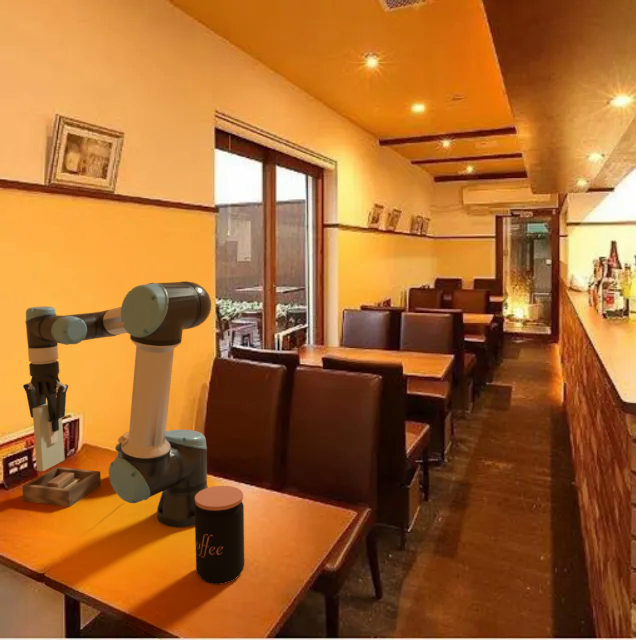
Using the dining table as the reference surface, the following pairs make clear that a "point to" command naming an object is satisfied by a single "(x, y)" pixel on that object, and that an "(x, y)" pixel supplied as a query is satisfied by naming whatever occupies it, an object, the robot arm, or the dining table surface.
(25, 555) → the dining table surface
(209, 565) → the coffee jar
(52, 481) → the offcut top
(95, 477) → the tray
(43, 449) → the panel
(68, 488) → the offcut bottom
